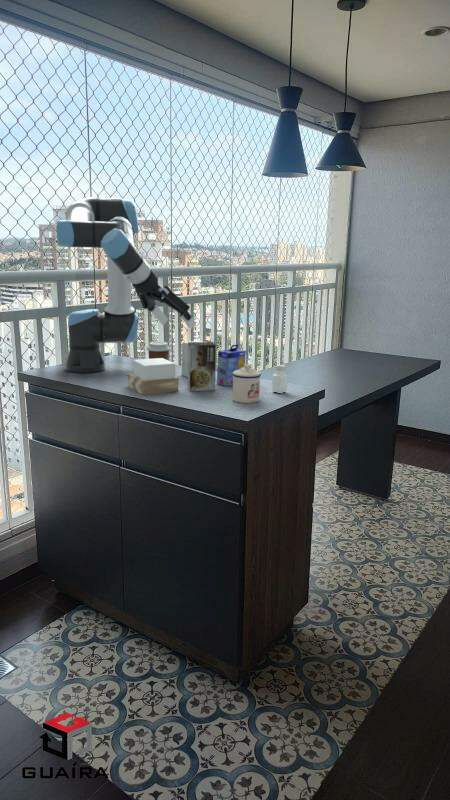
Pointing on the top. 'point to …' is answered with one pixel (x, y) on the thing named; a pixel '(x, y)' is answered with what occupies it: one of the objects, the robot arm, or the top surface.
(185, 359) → the small box
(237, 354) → the blue upright box
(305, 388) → the top surface
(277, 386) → the pepper shaker
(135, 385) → the tower base
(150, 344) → the coffee cup
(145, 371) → the tower top
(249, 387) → the teacup with lid
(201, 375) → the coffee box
